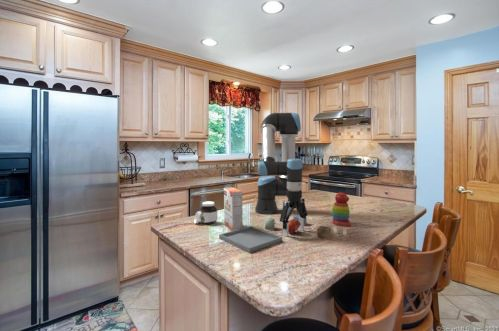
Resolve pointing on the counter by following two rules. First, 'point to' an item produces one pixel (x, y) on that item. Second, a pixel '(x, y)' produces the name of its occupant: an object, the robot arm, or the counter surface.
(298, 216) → the lavender blue block
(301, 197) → the robot arm
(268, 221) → the sage block
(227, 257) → the counter surface
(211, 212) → the spread jar
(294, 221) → the pomegranate
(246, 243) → the tray
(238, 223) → the cracker box
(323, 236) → the walnut block
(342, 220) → the stacking bear
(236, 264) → the counter surface
